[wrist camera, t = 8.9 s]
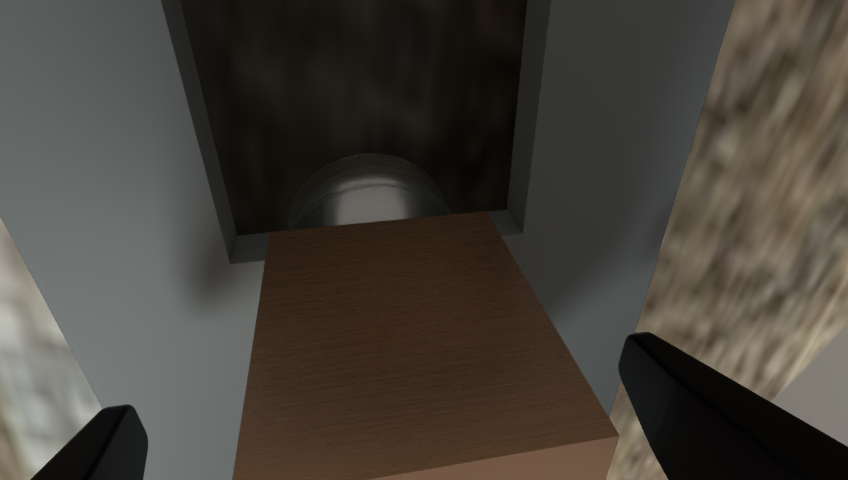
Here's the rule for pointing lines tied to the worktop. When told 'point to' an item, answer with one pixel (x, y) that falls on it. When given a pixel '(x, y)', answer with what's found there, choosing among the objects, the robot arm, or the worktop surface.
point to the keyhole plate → (245, 254)
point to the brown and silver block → (407, 346)
